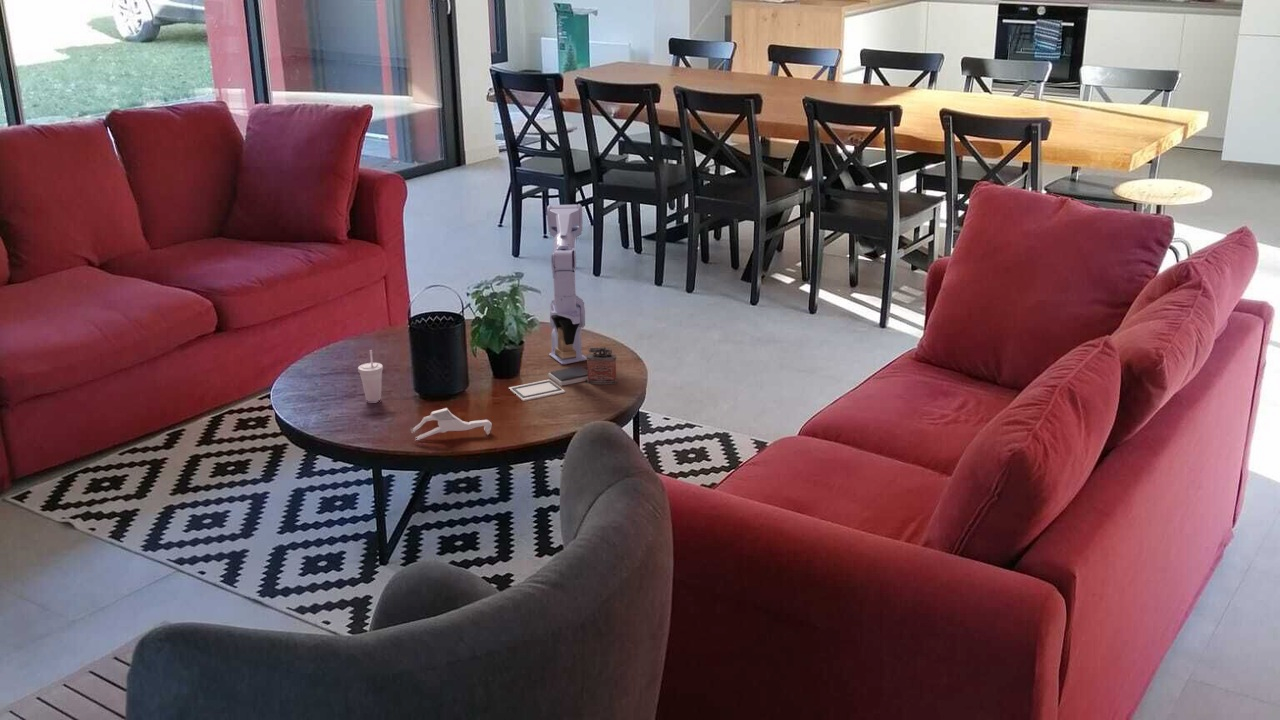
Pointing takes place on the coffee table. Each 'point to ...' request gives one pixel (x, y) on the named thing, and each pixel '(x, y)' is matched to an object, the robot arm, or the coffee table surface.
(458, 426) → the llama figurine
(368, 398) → the smoothie
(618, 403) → the coffee table surface
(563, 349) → the stamp
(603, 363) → the lighter
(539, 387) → the marked card
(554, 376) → the ink pad
